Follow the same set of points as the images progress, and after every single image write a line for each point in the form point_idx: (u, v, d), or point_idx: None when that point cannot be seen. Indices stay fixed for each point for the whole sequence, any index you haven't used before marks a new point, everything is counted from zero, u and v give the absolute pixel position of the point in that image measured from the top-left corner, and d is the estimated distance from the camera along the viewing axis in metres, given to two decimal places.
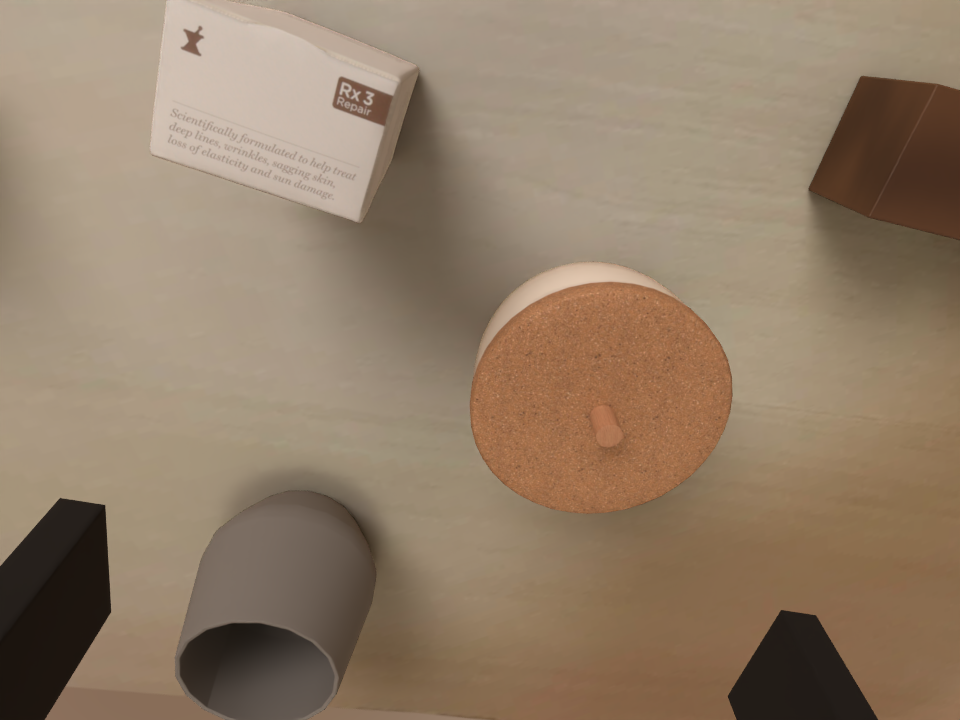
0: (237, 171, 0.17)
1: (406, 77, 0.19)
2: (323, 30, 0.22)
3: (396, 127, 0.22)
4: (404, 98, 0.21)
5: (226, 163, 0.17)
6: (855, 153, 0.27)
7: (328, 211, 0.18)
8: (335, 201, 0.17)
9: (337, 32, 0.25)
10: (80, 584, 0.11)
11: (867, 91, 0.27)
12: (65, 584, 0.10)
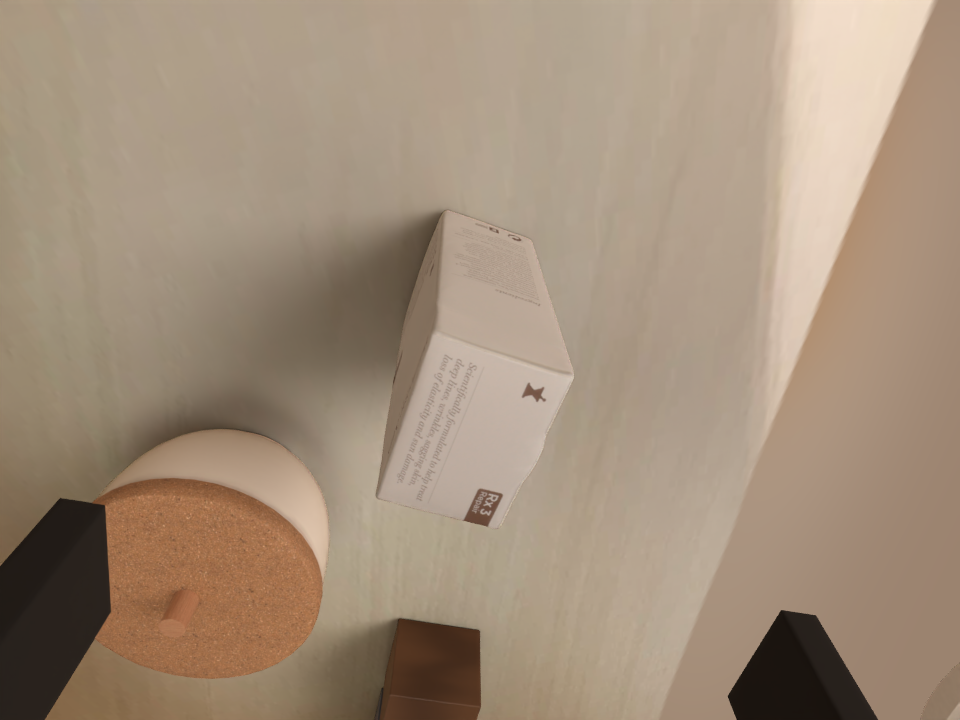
0: (419, 409, 0.17)
1: None
2: None
3: None
4: None
5: (426, 401, 0.17)
6: (430, 655, 0.36)
7: (385, 476, 0.18)
8: (395, 484, 0.18)
9: None
10: (80, 584, 0.11)
11: (470, 642, 0.38)
12: (65, 584, 0.10)
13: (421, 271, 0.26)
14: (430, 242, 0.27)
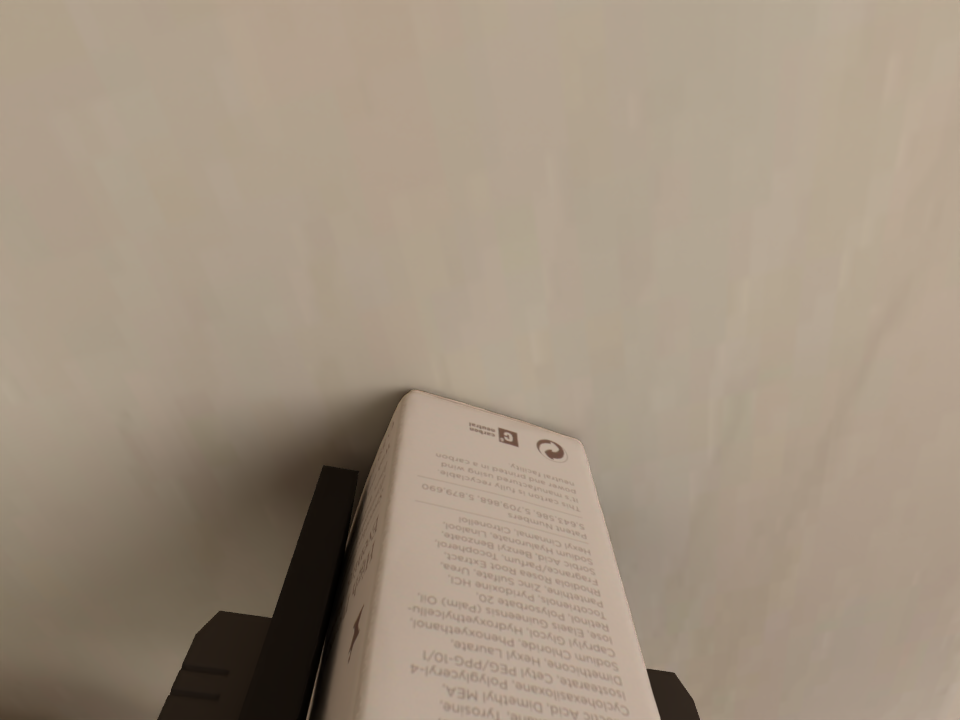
0: None
1: None
2: None
3: None
4: None
5: None
6: None
7: None
8: None
9: None
10: (345, 535, 0.13)
11: None
12: (345, 532, 0.12)
13: (358, 521, 0.13)
14: (379, 453, 0.13)
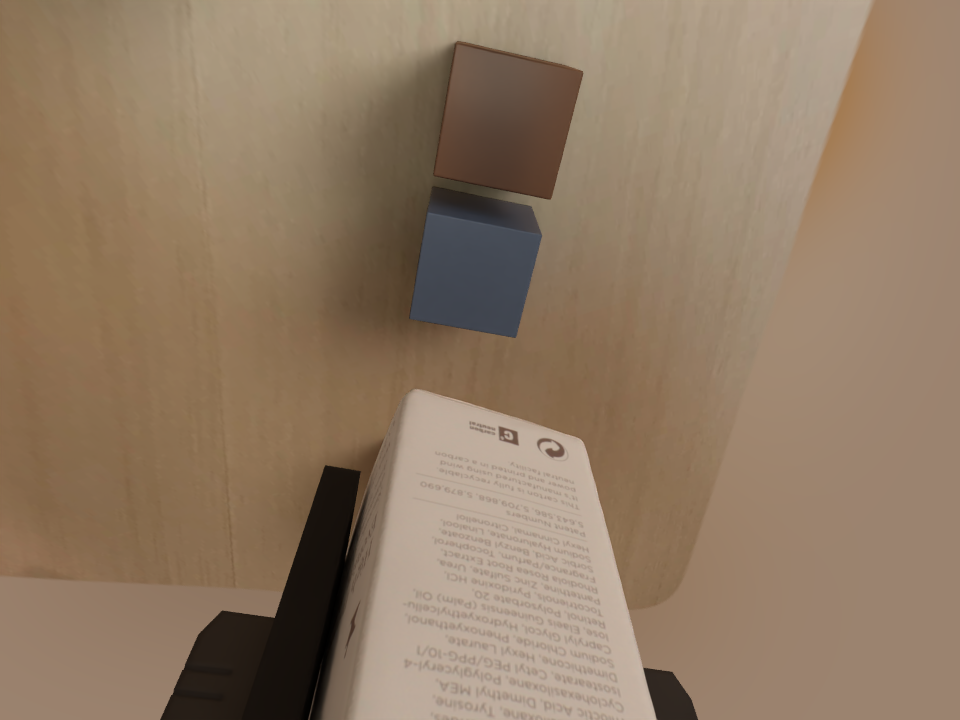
0: None
1: None
2: None
3: None
4: None
5: None
6: (505, 52, 0.26)
7: None
8: None
9: None
10: (347, 535, 0.13)
11: (556, 63, 0.28)
12: (347, 532, 0.12)
13: (360, 519, 0.13)
14: (380, 451, 0.13)
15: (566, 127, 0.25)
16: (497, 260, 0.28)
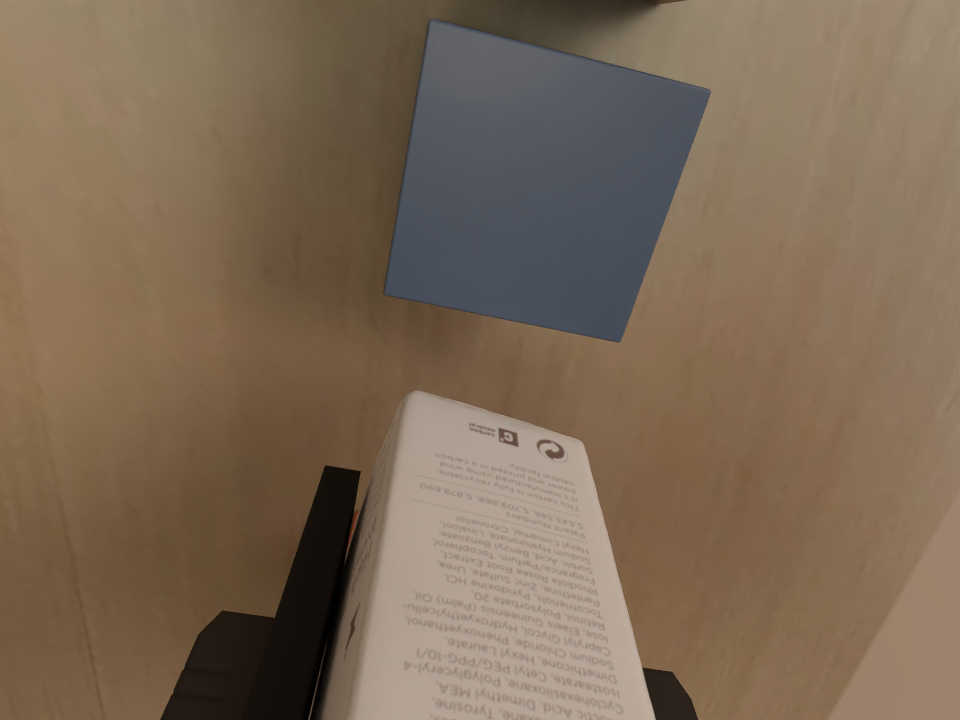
0: None
1: None
2: None
3: None
4: None
5: None
6: None
7: None
8: None
9: None
10: (347, 535, 0.13)
11: None
12: (347, 532, 0.12)
13: (360, 520, 0.13)
14: (380, 453, 0.13)
15: None
16: (597, 154, 0.11)
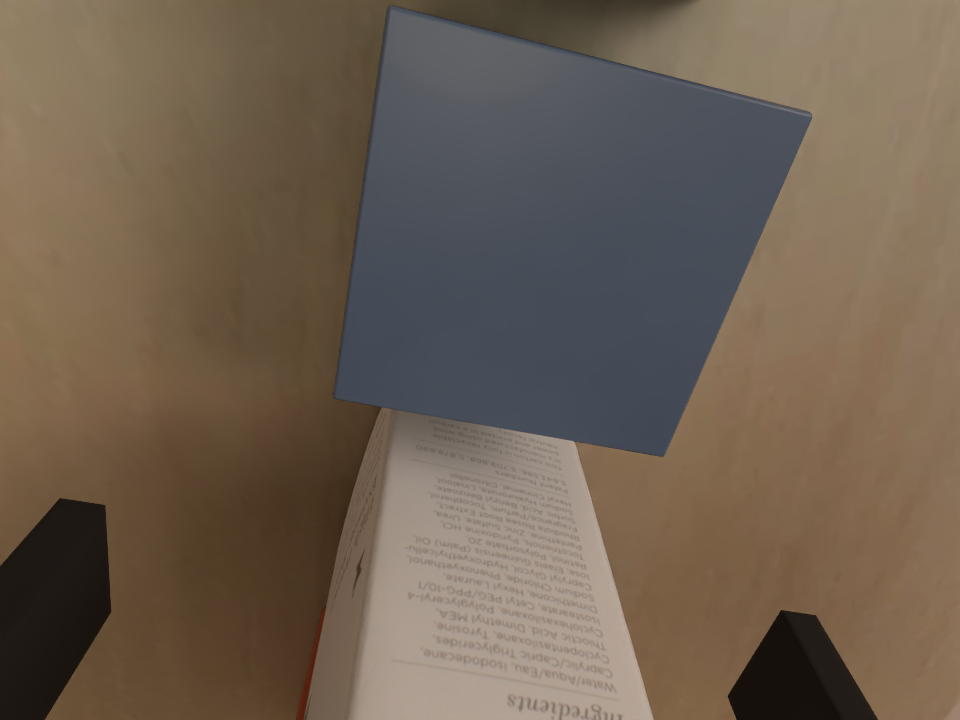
0: None
1: None
2: None
3: None
4: None
5: None
6: None
7: None
8: None
9: None
10: (80, 584, 0.11)
11: None
12: (65, 584, 0.10)
13: (358, 486, 0.14)
14: (376, 424, 0.14)
15: None
16: (640, 206, 0.08)
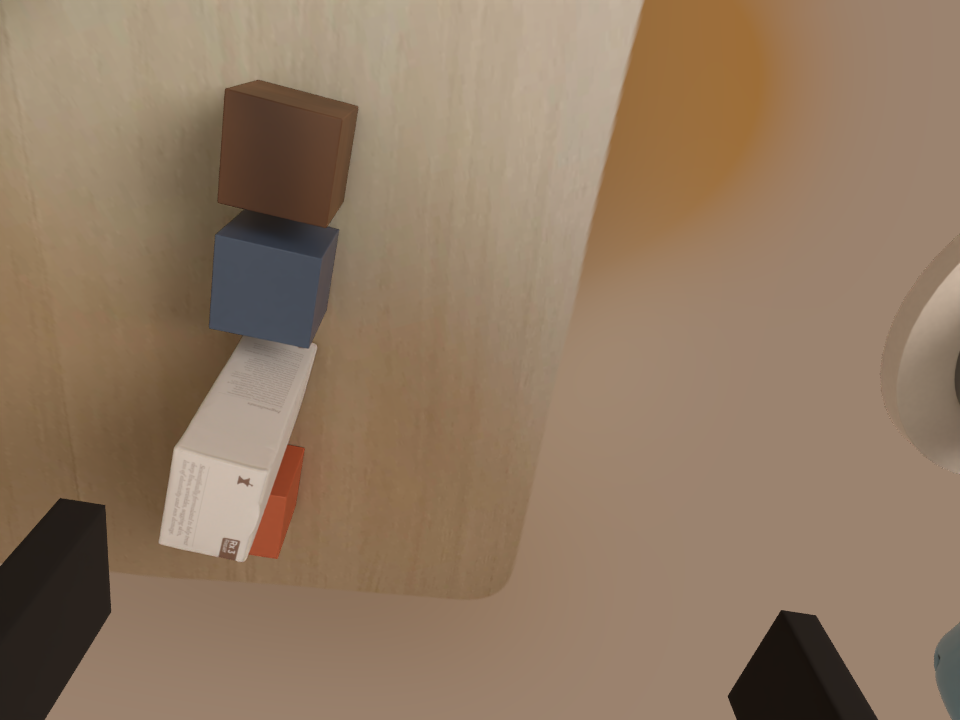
0: (174, 491, 0.28)
1: None
2: (296, 414, 0.35)
3: None
4: None
5: (178, 486, 0.28)
6: (289, 94, 0.29)
7: (161, 530, 0.29)
8: (168, 535, 0.29)
9: None
10: (80, 584, 0.11)
11: (344, 105, 0.31)
12: (65, 584, 0.10)
13: None
14: None
15: (332, 166, 0.28)
16: (284, 279, 0.31)
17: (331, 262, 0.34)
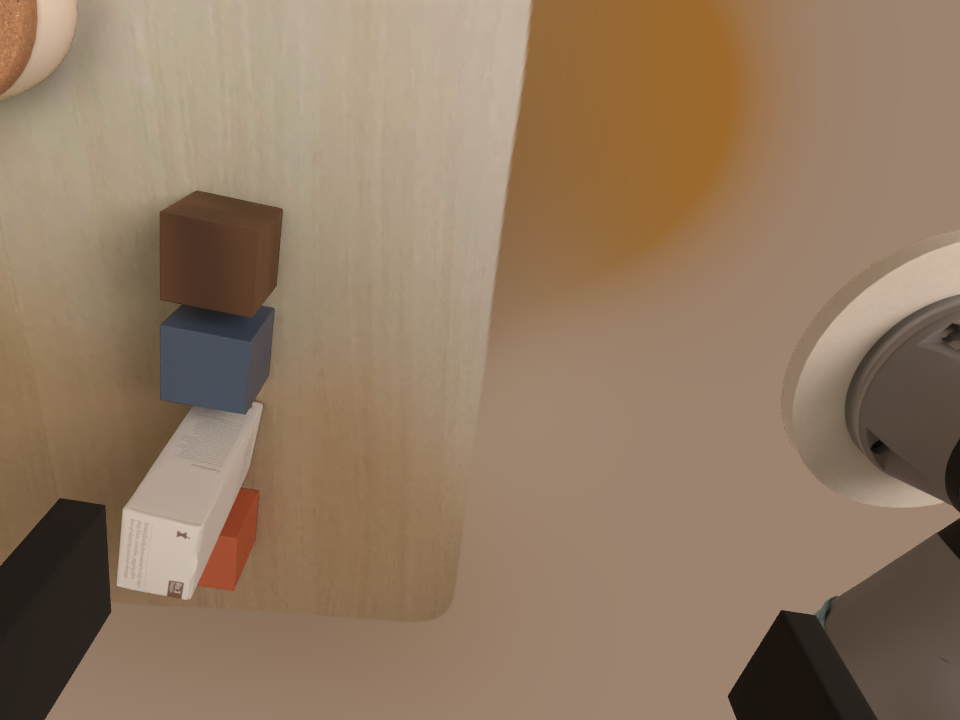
0: (125, 543, 0.33)
1: (205, 564, 0.38)
2: (241, 468, 0.41)
3: None
4: None
5: (128, 539, 0.33)
6: (218, 207, 0.35)
7: (117, 575, 0.34)
8: (123, 579, 0.34)
9: (254, 439, 0.44)
10: (80, 584, 0.11)
11: (268, 210, 0.36)
12: (65, 584, 0.10)
13: None
14: None
15: (253, 269, 0.34)
16: (220, 359, 0.36)
17: (267, 337, 0.40)
